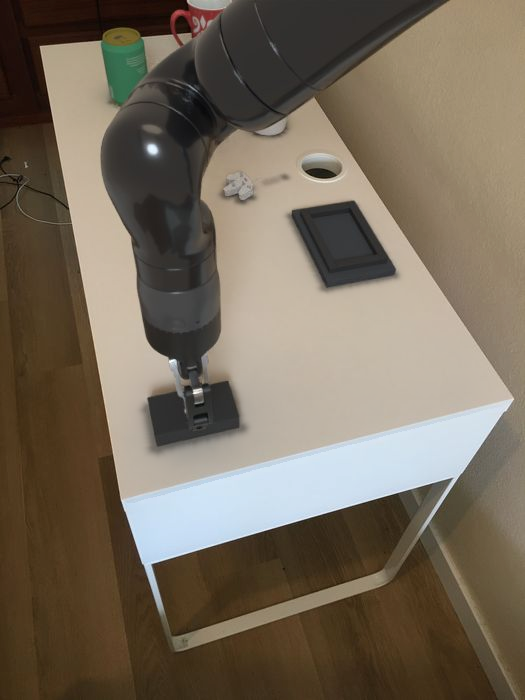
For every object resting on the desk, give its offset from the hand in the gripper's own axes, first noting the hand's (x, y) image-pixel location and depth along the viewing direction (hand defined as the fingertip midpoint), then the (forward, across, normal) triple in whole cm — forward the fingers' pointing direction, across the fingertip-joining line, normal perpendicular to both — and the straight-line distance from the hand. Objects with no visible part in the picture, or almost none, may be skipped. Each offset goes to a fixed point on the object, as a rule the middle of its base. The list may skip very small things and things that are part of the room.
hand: (190, 395), depth 66 cm
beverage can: (+5, +77, -3) cm, 77 cm away
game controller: (+5, +43, -20) cm, 47 cm away
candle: (+5, +61, -27) cm, 67 cm away
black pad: (+5, 0, 0) cm, 5 cm away
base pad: (+5, +25, -29) cm, 39 cm away
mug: (+5, +86, -20) cm, 88 cm away
